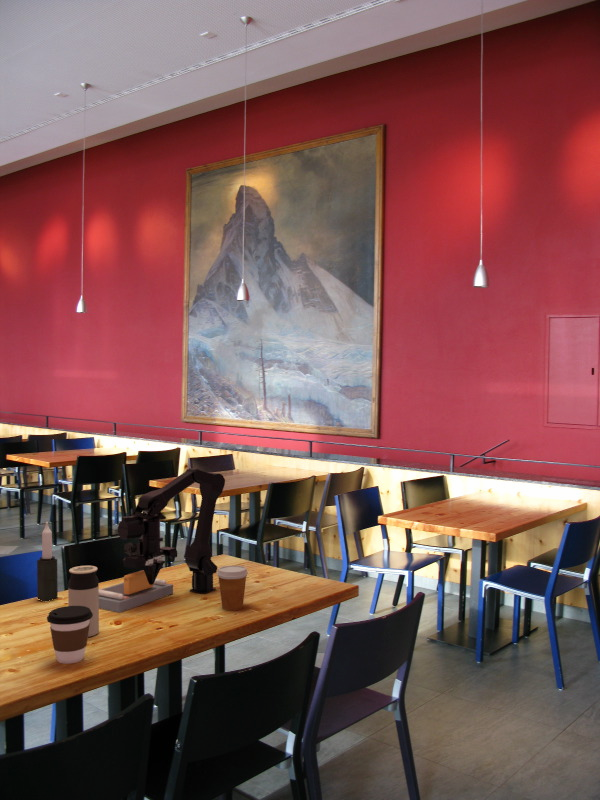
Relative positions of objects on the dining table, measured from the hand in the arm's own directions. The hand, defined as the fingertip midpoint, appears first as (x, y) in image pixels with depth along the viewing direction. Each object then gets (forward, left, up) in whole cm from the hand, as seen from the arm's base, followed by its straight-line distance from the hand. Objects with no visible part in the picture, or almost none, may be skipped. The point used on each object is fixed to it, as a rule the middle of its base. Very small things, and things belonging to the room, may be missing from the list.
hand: (151, 584), depth 232 cm
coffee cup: (-16, +46, -6) cm, 49 cm away
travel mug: (-4, +31, -6) cm, 32 cm away
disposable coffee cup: (-24, -10, -6) cm, 27 cm away
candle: (+32, +14, -6) cm, 35 cm away
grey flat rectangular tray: (+10, 0, -6) cm, 11 cm away
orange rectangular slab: (+5, 0, -3) cm, 6 cm away
